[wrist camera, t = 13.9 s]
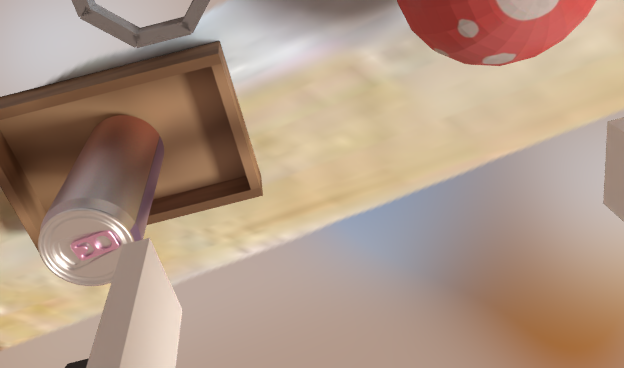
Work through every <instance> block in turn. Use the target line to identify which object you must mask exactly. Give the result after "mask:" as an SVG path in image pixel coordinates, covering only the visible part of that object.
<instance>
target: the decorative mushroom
mask: <svg viewBox="0 0 624 368" xmlns="http://www.w3.org/2000/svg"><path fill="white" fill-rule="evenodd" d="M397 2H398V4H399V6H400V8H401V10H402V12H403V14H404V16H405V18H406V20H407V22H408V24H409V26H410V28H411V30H412V31H413V32H414V33H415V34H416V35H418V36H419V37H420V38H421V39H422V40H423V41H424V42H425V43H426V44H427V45H428V46H429V47H430V48H432V49H433V50H434V51H436V52H438V53H440V54H442V55H445V56H447V57H450V58H452V59H455V60H457V61H459V62H462V63H464V64H471V65H492V66H501V65H506V64H510V63H513V62H517V61H521V60H525V59H528V58H532V57H535V56H537V55H539V54H540V53H542V52H544V51H545V50H547V49H549V48H550V47H552V46H554V45H555V44H557V43H559V42H561V41H562V40H563V39H564V38H565V37H566V36H567V35H568V34H569V33H570V32H572V31H573V30H574V29H575V28H576V27H577V26H578V25H579V24H580V23H581V22H582V21H583V20H584V19H585V18H586V17H587V15H588V13H589V12H590V10H591V8H592V7H593V5H594V4H595V2H596V0H397Z"/></svg>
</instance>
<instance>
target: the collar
mask: <svg viewBox="0 0 624 368" xmlns="http://www.w3.org/2000/svg"><path fill="white" fill-rule="evenodd" d="M209 1H210V0H193V1H192V3H191V5H190V7H189V9H188V11H187V13H186V15H185V16H184V17H181V18H178V19H174V20H170V21H166V22H162V23H158V24H154V25H151V26H146V27H142V28H139V27H137V26H135V25H133V24H132V23H130V22H128V21H126V20H124V19H122V18H121V17H119V16H117V15H115V14H113V13H112V12H110V11H108V10H106V9H104V8H103V7H100V6H99V5H97V4H96V3H95V1H94V0H72V2H73V5H74V7H75V9H76V11H77V14H78V16H79V17H80V16H81V18H80V19H82V20H84V21H86V22H88V23H90V24H92V25H94V26H96V27H98V28H99V29H101V30H103V31H105V32H107V33H109V34H111V35H112V36H114V37H116V38H118V39H120V40H122V41H124V42H126V43H127V44H129V45H131V46H133V47H136V46H137V48H139V47H143V46H147V45H151V44H154V43H158V42H162V41H166V40H170V39H174V38H178V37H182V36H186V35H190V34H191V33H193V31H194V30H195V28H196V26H197V24H198V22H199V20H200V18H201V16H202V14H203V13H204V11H205V9H206V7H207V5H208V3H209Z"/></svg>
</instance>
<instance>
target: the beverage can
mask: <svg viewBox="0 0 624 368" xmlns="http://www.w3.org/2000/svg"><path fill="white" fill-rule="evenodd" d="M163 158H164V145H163V141H162V139H161V137H160V135H159V133H158V132H157V131H156V130H155V129H154V128H153V127H152V126H151V125H150V124H149V123H147V122H146V121H144V120H142V119H140V118H137V117H133V116H128V115H118V116H113V117H110V118H107V119H105V120H103V121H102V122H100V123H99V124H98V125H97V126H96V127H95V128H94V130H93V131H92V133H91V135H90V137H89V138H88V140H87V142H86V144H85V146H84V147H83V149H82V151H81V153H80V155H79V156H78V158H77V160H76V162H75V164H74V165H73V167H72V169H71V171H70V173H69V174H68V176H67V178H66V180H65V182H64V183H63V185H62V187H61V189H60V190H59V192H58V194H57V196H56V198H55V199H54V201H53V203H52V205H51V207H50V208H49V210H48V212H47V214H46V216H45V217H44V219H43V221H42V224H41V228H40V235H39V239H38V249H39V253H40V256H41V258H42V260H43V262H44V263H45V265H46V266H47V267H48V268H49V269H50V270H51V271H52V272H53V273H54V274H55V275H57V276H58V277H60V278H62V279H64V280H66V281H68V282H71V283H74V284H78V285H84V286H99V285H104V284H108V283H111V282H112V280H113V276H114V273H115V270H116V266H117V263H118V260H119V256H120V253H121V250H122V246H123V244H127V243H131V242H135V241H139V240H143V236H144V232H145V228H146V225H147V221H148V217H149V213H150V209H151V205H152V201H153V197H154V193H155V189H156V185H157V181H158V177H159V173H160V170H161V166H162V162H163Z"/></svg>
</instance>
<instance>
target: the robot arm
mask: <svg viewBox="0 0 624 368" xmlns="http://www.w3.org/2000/svg"><path fill="white" fill-rule="evenodd" d="M603 203H604V204H605V205H606V206H607V207H608V208H609V209H610V210H611V211H613V212H614V213H615V214H616V215H617V216H618V217H619V218H620V219H621V220H622V221H624V118H620V119H616V120H612V121H608V124H607V143H606V162H605V183H604V201H603ZM181 318H182V308H181V306H180V304H179V301H178V299H177V297H176V295H175V293H174V290H173V288H172V286H171V284H170V281H169V279H168V277H167V275H166V273H165V270H164V268H163V266H162V264H161V262H160V259H159V257H158V255H157V253H156V250H155V248H154V246H153V244H152V242H151V239H150V238H147V239H143V240H139V241H135V242H131V243H127V244H123V246H122V250H121V253H120V256H119V260H118V263H117V266H116V270H115V273H114V276H113V280H112V283H111V286H110V290H109V293H108V296H107V300H106V303H105V306H104V310H103V313H102V316H101V320H100V323H99V326H98V330H97V333H96V336H95V340H94V343H93V346H92V350H91V353H90V356H89V359H85V360H81V361H78V362H73V363H69V364H67V366H66V367H65V368H175V367H176V359H177V351H178V343H179V334H180V326H181Z"/></svg>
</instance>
